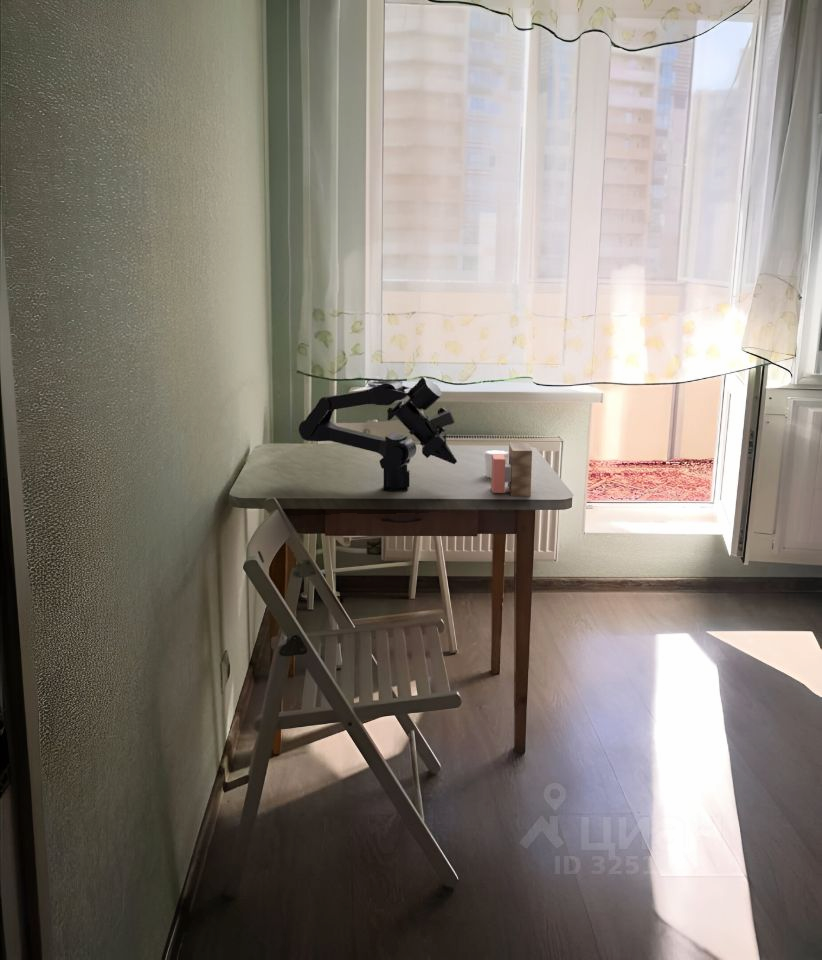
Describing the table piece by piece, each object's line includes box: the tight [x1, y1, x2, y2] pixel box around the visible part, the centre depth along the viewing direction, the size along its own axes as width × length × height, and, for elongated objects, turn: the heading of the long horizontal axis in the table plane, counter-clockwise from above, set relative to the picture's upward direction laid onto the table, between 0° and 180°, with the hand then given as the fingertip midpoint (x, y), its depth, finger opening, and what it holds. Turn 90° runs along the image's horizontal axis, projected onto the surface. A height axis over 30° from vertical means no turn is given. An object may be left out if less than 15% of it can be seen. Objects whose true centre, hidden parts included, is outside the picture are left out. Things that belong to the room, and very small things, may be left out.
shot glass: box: [484, 449, 509, 479], centre depth 260 cm, size 7×7×7 cm
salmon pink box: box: [490, 454, 511, 494], centre depth 243 cm, size 9×7×9 cm
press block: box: [507, 442, 533, 497], centre depth 243 cm, size 5×10×12 cm, turn 179°
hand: (455, 462), depth 243 cm, fingers closed
